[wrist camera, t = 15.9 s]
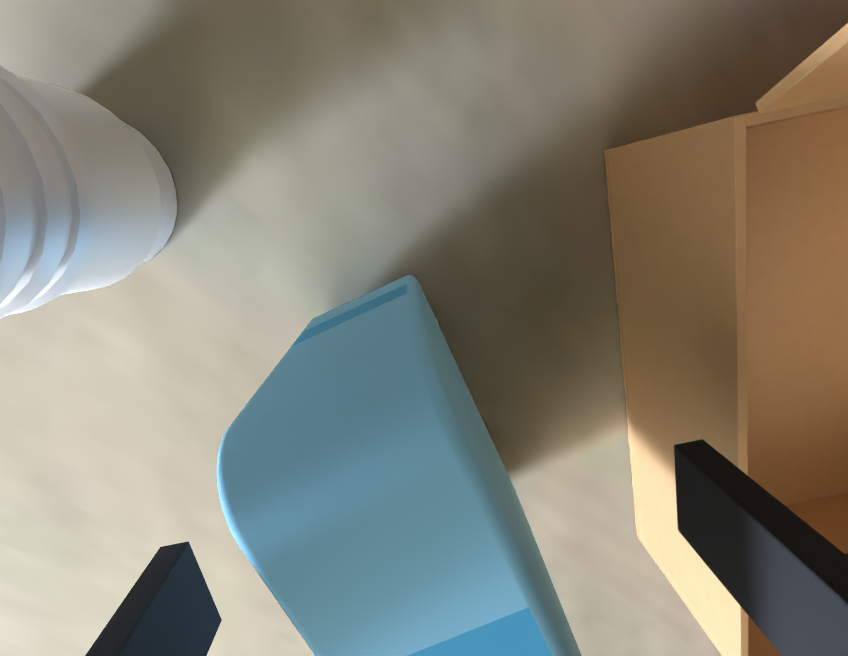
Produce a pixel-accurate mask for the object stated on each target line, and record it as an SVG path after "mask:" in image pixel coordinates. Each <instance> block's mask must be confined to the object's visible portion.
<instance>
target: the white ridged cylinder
mask: <svg viewBox="0 0 848 656" xmlns="http://www.w3.org/2000/svg"><path fill="white" fill-rule="evenodd" d="M176 215H177V197H176V188H175V185H174V182H173V179H172V176H171V173H170V170H169V168H168V166H167V165H166V163H165V161H164V160H163V158H162V156H161V155H160V153H159V151H158V150H157V149H156V148H155V147H154V146H153V145H152V144H151V143H150V142H149V141H148V140H147V139H146V137H145V136H144V135H143V134H142V133H140V132H139V131H137V130H136V129H134V128H133V127H131V126H130V125H128V124H127V123H125V122H123V121H122V120H119V119H118V118H117V117H116V116H115V115H114V114H113V113H112V112H110V111H109V110H107V109H106V108H104V107H103V106H101V105H100V104H98V103H97V102H95V101H94V100H92V99H91V98H89V97H87V96H85V95H82V94H79V93H76V92H74V91H71V90H68V89H65V88H63V87H60V86H56V85H52V84H47V83H43V82H38V81H34V80H30V79H25V78H21V77H18V76H16V75H14V74H13V73H11V72H10V71H8V70H7V69H5V68H4V67H2V66H0V318H2V317H4V316H6V315H11V314H16V313H21V312H26V311H29V310H33V309H35V308H37V307H39V306H41V305H43V304H45V303H47V302H49V301H51V300H53V299H55V298H57V297H59V296H60V295H61V294H68V293H74V292H80V291H86V290H91V289H97V288H102V287H107V286H109V285H111V284H113V283H115V282H117V281H119V280H121V279H123V278H125V277H127V276H129V275H130V274H131V273H132V272H133V271H134V270H135V269H136V268H137V267H138V266H139V265H141V264H143V263H145V262H147V261H149V260H150V259H152V258H153V257H154V256H155V255H156V254H157V253H158V252H159V251H160V250H161V249H162V248H163V247H164V246H165V244H166V243H167V241H168V239H169V237H170V235H171V233H172V232H173V229H174V225H175V220H176Z"/></svg>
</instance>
